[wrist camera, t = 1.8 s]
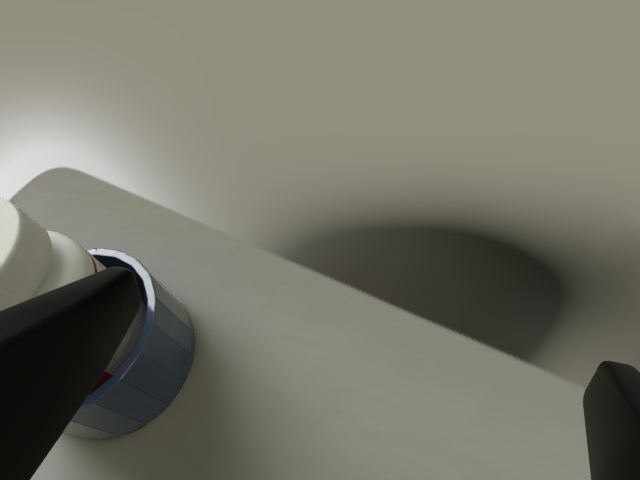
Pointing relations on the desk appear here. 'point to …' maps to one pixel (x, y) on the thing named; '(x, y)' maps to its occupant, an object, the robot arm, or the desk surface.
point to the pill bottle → (49, 271)
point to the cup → (140, 362)
